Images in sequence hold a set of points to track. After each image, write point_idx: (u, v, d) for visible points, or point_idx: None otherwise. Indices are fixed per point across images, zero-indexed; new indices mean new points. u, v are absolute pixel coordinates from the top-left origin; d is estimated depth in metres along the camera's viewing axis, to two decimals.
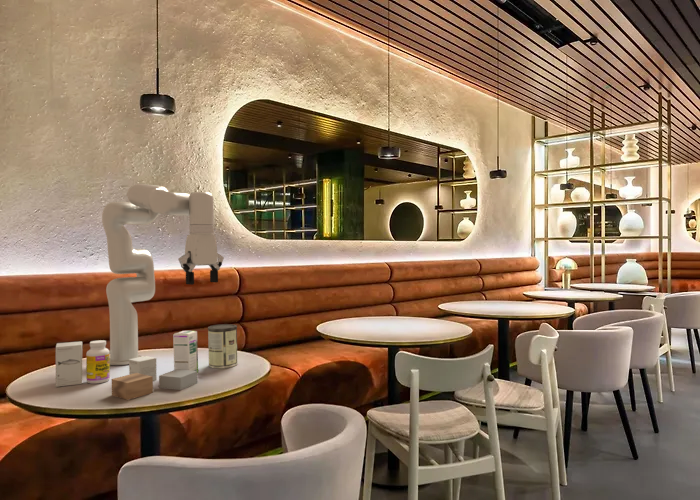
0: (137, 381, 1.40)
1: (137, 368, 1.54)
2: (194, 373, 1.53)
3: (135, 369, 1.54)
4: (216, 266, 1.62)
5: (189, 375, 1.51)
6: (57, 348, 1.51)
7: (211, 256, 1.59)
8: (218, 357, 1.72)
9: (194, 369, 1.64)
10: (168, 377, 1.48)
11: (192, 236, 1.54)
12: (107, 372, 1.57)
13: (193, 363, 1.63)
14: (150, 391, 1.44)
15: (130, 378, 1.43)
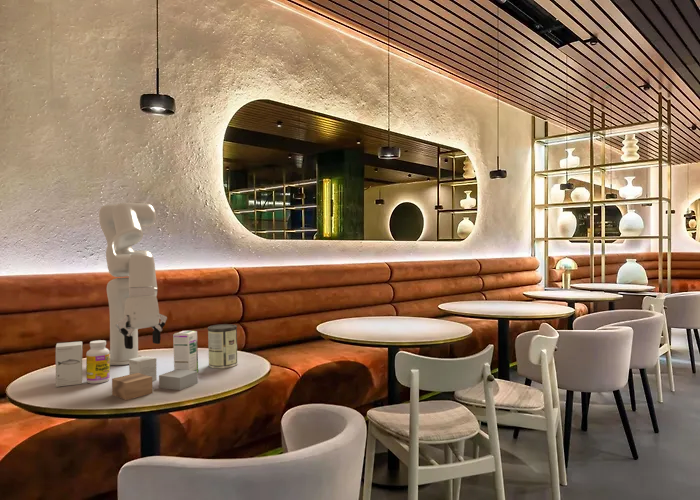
0: (136, 381, 1.40)
1: (137, 368, 1.54)
2: (194, 373, 1.53)
3: (135, 369, 1.54)
4: (158, 327, 1.60)
5: (189, 375, 1.51)
6: (57, 348, 1.51)
7: (152, 318, 1.57)
8: (218, 357, 1.72)
9: (194, 369, 1.64)
10: (168, 377, 1.48)
11: (131, 299, 1.53)
12: (107, 372, 1.57)
13: (193, 363, 1.63)
14: (150, 391, 1.43)
15: (130, 378, 1.43)
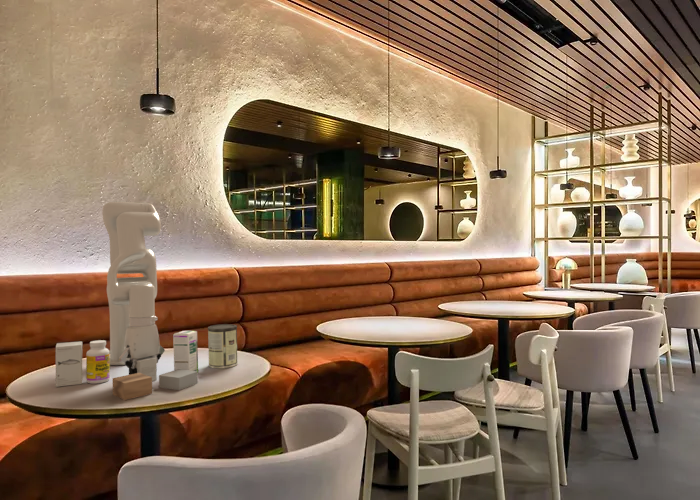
0: (135, 381, 1.40)
1: (137, 368, 1.54)
2: (194, 373, 1.53)
3: None
4: None
5: (188, 375, 1.50)
6: (57, 348, 1.51)
7: (152, 347, 1.57)
8: (218, 357, 1.72)
9: (194, 369, 1.64)
10: (167, 377, 1.48)
11: (131, 330, 1.53)
12: (107, 372, 1.57)
13: (193, 363, 1.63)
14: (149, 392, 1.43)
15: (130, 378, 1.43)
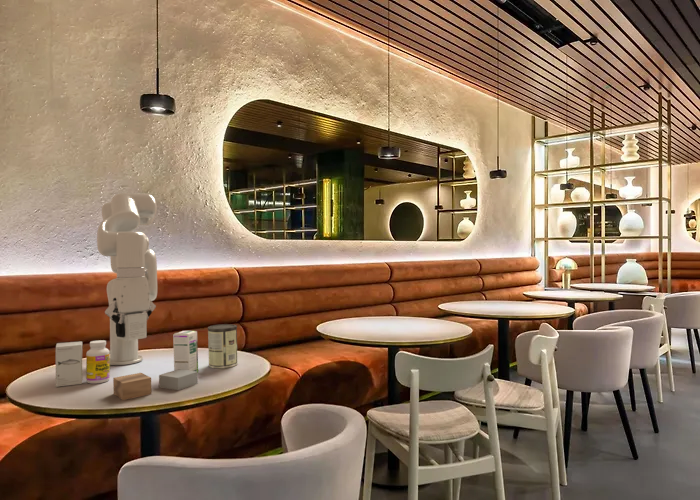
0: (134, 382, 1.40)
1: (125, 323, 1.40)
2: (194, 374, 1.52)
3: None
4: None
5: (188, 375, 1.50)
6: (57, 348, 1.51)
7: (141, 302, 1.44)
8: (218, 357, 1.72)
9: (194, 369, 1.64)
10: (167, 377, 1.49)
11: (118, 281, 1.39)
12: (107, 372, 1.57)
13: (193, 363, 1.63)
14: (148, 392, 1.43)
15: (130, 378, 1.43)
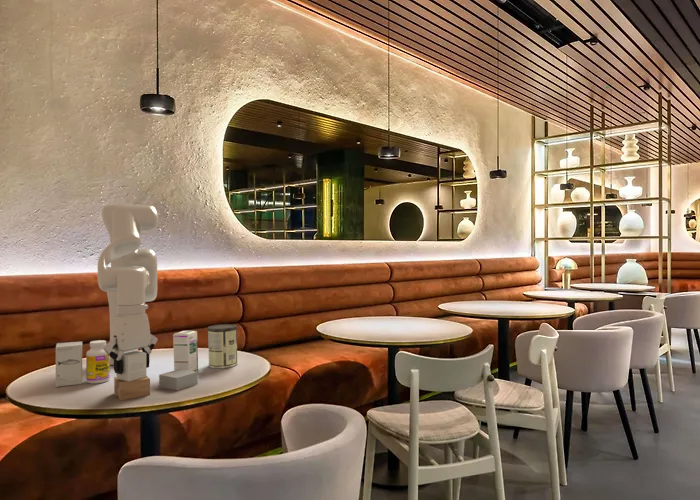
0: (132, 382, 1.40)
1: (124, 363, 1.40)
2: (193, 374, 1.52)
3: None
4: (147, 350, 1.46)
5: (187, 376, 1.50)
6: (57, 348, 1.51)
7: (142, 338, 1.44)
8: (218, 357, 1.72)
9: (194, 369, 1.64)
10: (166, 377, 1.49)
11: (119, 319, 1.39)
12: (107, 372, 1.57)
13: (193, 363, 1.63)
14: (147, 393, 1.42)
15: None
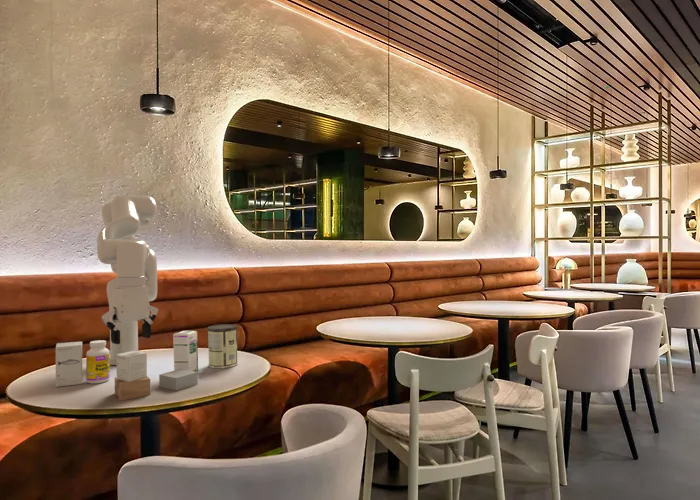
0: (132, 382, 1.39)
1: (125, 364, 1.40)
2: (193, 374, 1.52)
3: (122, 365, 1.40)
4: (148, 320, 1.47)
5: (187, 376, 1.50)
6: (57, 348, 1.51)
7: (141, 311, 1.44)
8: (218, 357, 1.72)
9: (194, 369, 1.64)
10: (166, 377, 1.49)
11: (118, 290, 1.39)
12: (107, 372, 1.57)
13: (193, 363, 1.63)
14: (147, 393, 1.42)
15: None
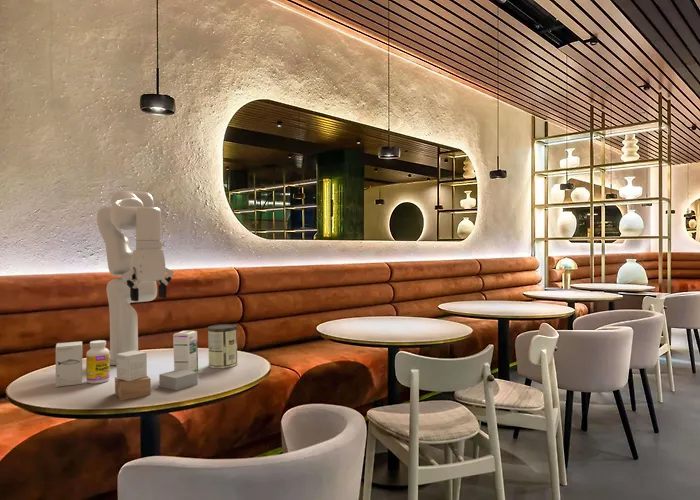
0: (132, 382, 1.40)
1: (125, 363, 1.40)
2: (193, 374, 1.52)
3: (122, 365, 1.40)
4: (164, 281, 1.59)
5: (187, 376, 1.50)
6: (57, 348, 1.51)
7: (158, 272, 1.56)
8: (218, 356, 1.72)
9: (194, 369, 1.64)
10: (166, 377, 1.49)
11: (137, 252, 1.52)
12: (107, 372, 1.57)
13: (193, 363, 1.63)
14: (147, 393, 1.42)
15: None
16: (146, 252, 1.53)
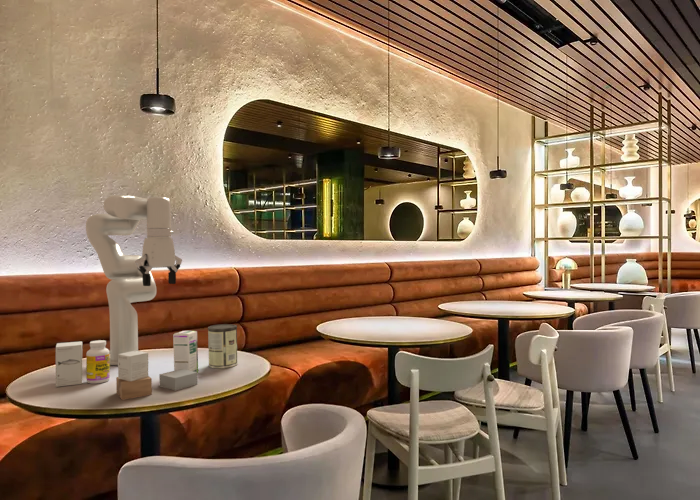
0: (133, 382, 1.40)
1: (127, 363, 1.40)
2: (193, 374, 1.52)
3: (124, 365, 1.41)
4: (174, 268, 1.68)
5: (186, 376, 1.50)
6: (57, 348, 1.51)
7: (168, 259, 1.65)
8: (218, 357, 1.72)
9: (194, 369, 1.64)
10: (166, 376, 1.49)
11: (149, 239, 1.60)
12: (107, 372, 1.57)
13: (193, 363, 1.63)
14: (148, 393, 1.42)
15: None
16: (157, 239, 1.61)
